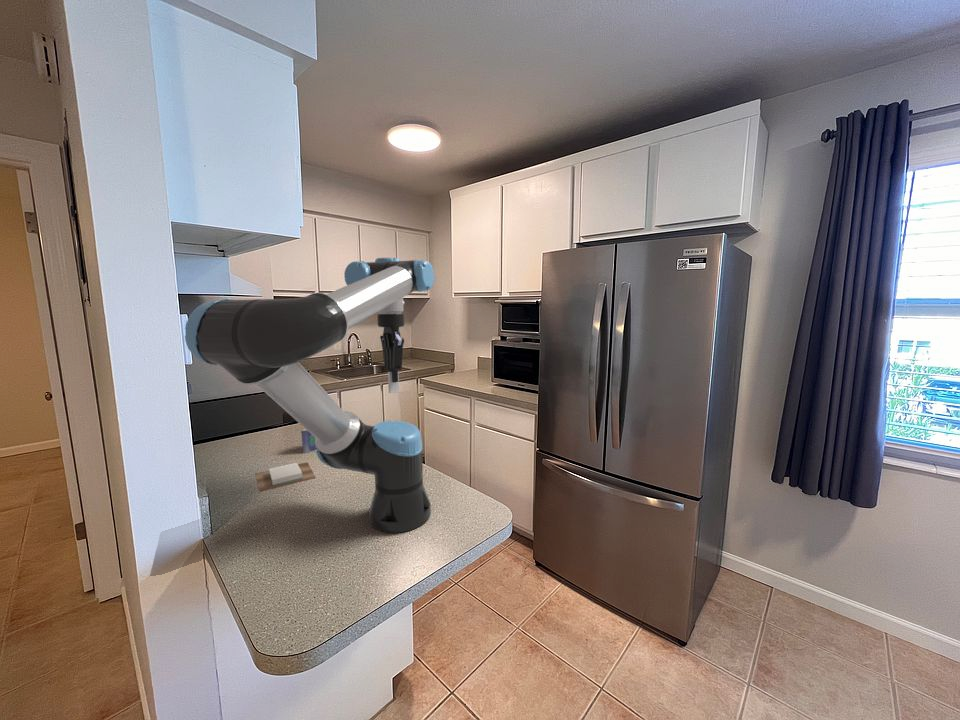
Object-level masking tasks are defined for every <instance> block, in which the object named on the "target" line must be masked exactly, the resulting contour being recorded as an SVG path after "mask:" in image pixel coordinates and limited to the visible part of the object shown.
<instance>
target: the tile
mask: <svg viewBox="0 0 960 720" xmlns="http://www.w3.org/2000/svg"><path fill="white" fill-rule="evenodd" d="M298 464H299V463H298V462H294V463H289V464H285V465H279V466H276V467H271V468H268V471H269V475H270V478H271V482H272V485H278V484H282V483H286V482H290V481H294V480H298V479H303V478H302V472H301V470H300V468H299V466H298Z"/></svg>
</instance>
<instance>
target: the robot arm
mask: <svg viewBox="0 0 960 720" xmlns="http://www.w3.org/2000/svg"><path fill="white" fill-rule="evenodd" d="M344 281H345V284H346V286H342V287H340V288H338V289H336V290H333V291H331V292H329V293H328V292H327V293H325V292H324V293H323V292H313V293H311V294H308V295H306V296H302V297H294V298H264V299H263V298H262V299H261V298H257V299H233V298H225V297H224V298H221V299H216V300H209V301H205V302H204V303H201V304H200V305H198V306H197V307H196V308H195V309H194V310H193V311H192V312H191V313H190V315H189V317H188V318H187V320H186V324H185V328H184V329H185V336H184V339H185V343H186V347H187V349H188V350H189V352H190V354H192V355H193V356H194V357H195V358H196V359H198V360H199V361H201V362H204V363H206V364H209V365H212V366H213V365H215V366H216V365H219V366H220V367H222V368H223V369H224V370H225V371H226V372H228V373H229V374H230V375H231V376H232V377H233V378H235V379H236V381H238V382H239V383H241V384H243V385H256V386H257V387H258V388H259V389H260V390H262V391H263V392H264V393H265V394H266V395H267V396H268V397H270V398H271V400H273V401H274V402H275V403H276V404H277V405H278V406H279V407H281V408H282V409H283V410H284V411H285V412H287V414H289V416H291V417H292V418H293V419H294V420H295V421H296V422H297V423H299V424H300V425H301V426H302V427H303V429H306V430H308V431H309V432H310V433H311V434H312V435H313V436H314V437H315V447H316V448H317V449H316V450H315V452H316V453H315V454H316V456H317V458H318V459H319V460H320V462H321V463H323V464H324V465H325V466H329V467H330V468H333V469H339V470H342V469H343V470H346V471H347V470H348V471H352V472H358V473H364V474H367V475H368V474H369V475H373V476H374V488H375V489H374V493H373V496H372V500H371V503H370V508H369V512H368V515H369V516H368V517H369V524H370V525H371V526H372V527H373V528H374V529H375V530H378V531H379V532H380V531H381V532H383V533H391V534H393V533H394V534H395V533H397V534H398V533H404V532H405V533H406V532H410V531H413V530H415V529H417V528H419V527H421V526H423V525H424V524H425V523H426V522H427V521H429V519H430V517H431V514H432V508H431V507H432V505H431V502H430V499H429V496H428V494H427V491H426V489H425V486H424V477H423V475H424V474H423V473H424V469H423V466H424V465H423V449H424V448H423V446H424V445H423V441H422V433H421V431H420V429H419V428H418V427H417V426H416V425H415V424H412V423H411V422H407V421H402V420H384V421H380V422H378V423H376V424H374V425H367V424H365V423H364V422H363V421H362V420H361V419H360V418H359V417H358V416H357V415H356V414H355V413H354V412H352V411H344V409H342V408H341V407H340V405H338V403H337V402H336V401H335V400H334V399H333V398H332V397H331V395H330V394H329V393H328V392H327V391H326V390H325V389H324V388H323V387H322V386H321V385H320V383H319V382H318V381H317V380H316V379H315V378H314V376H312V375H311V374H310V373H309V372H308V370H307V369H306V368H305V367H304V366H303V365H302V364H301V363H300V362H302V361H305V360H306V359H309V358H311V357H313V356H316V355H317V354H319V353H321V352H323V351H325V350H327V349H329V348H330V347H333V346H334V345H335V344H337V343H339V342H341V340H343V339H344V338H345V337H346V335H347V333H348V330H349V329H351V328H353V327H355V326H356V325H358V324H359V323H361V322H363V321H365V320H367V319H369V318H370V317H372V316H373V315H375V314H377V313H378V314H377V326H378V327H379V328H383V333H382V335H380V336H379V338H380V342H381V348H382V355H383V365H384V368H386V370H387V381H388V382H387V383H388V384H387V385H388V393H389V394H395V393H400V383H399V382H400V379H399V378H400V377H399V371H401V370H403V369H402V368H403V352H404V350H403V349H404V344H405V338H404V337H401V332H400V327H401V328H402V327H404V325H405V315H404V313H403V312H404V305H405V301H404V298H405V297H406V296H407V295H410V294H412V293H413V292H418V293H419V292H420V293H421V292H426V291H430V290H431V289H432V287H433V286H434V283H435V272H434V268H433V266H432V264H431V263H430V262H429V261H428V260H423V259H413V260H411V259H410V260H401V259H399V258H397V257H378V258H376V259H375V261H372V262H371V261H369V262H367V261H363V260H360V261H352V262H350V263H349V264H348V265H347V266H346V268H345V269H344Z"/></svg>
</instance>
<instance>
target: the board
mask: <svg viewBox="0 0 960 720" xmlns="http://www.w3.org/2000/svg"><path fill="white" fill-rule="evenodd" d="M297 464H298V466H299V468H300V470H301V472H302V478H303V479H298V480H294V481H290V482H286V483H282V484H278V485H272V482H271V478H270V475H269V470H266V471H259V472H256V473H255V477H256V482H257V483H256V484H257V487H258V491H259V493H260V492H266V491H269V490H273V489H278V488H281V487H285V486H289V485H293V484H297V483H302V482H306V481H309V480H313V479H317V477H316V475H315V473H314V471H313V469H312V467H311V466H310V464H309V462H307V461H306V462H302V463H301V462H300V463H297Z"/></svg>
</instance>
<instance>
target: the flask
mask: <svg viewBox="0 0 960 720" xmlns="http://www.w3.org/2000/svg"><path fill="white" fill-rule="evenodd" d="M300 433H301V444H302V453H303V454H309V453H311V452H313V451H317V448H316V447H315V437H314V436H313V435H312V434H311V433H310V432H309V431H308V430H306V429H305V428H303V429H301V432H300Z"/></svg>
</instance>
